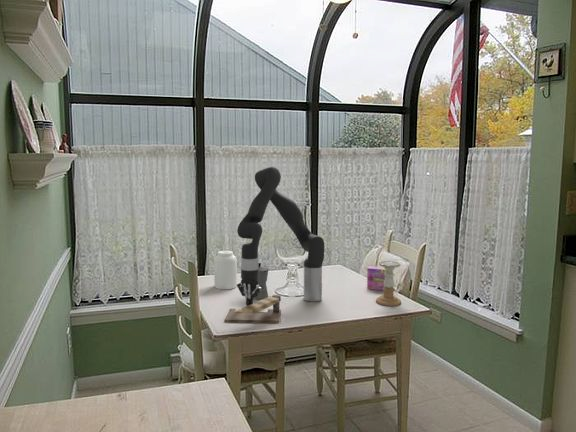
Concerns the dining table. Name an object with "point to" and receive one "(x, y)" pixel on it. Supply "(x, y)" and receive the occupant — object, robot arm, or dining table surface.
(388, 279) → the candle holder
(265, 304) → the swing arm
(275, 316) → the label board
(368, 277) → the box
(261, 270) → the coffeepot
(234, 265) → the white jar
